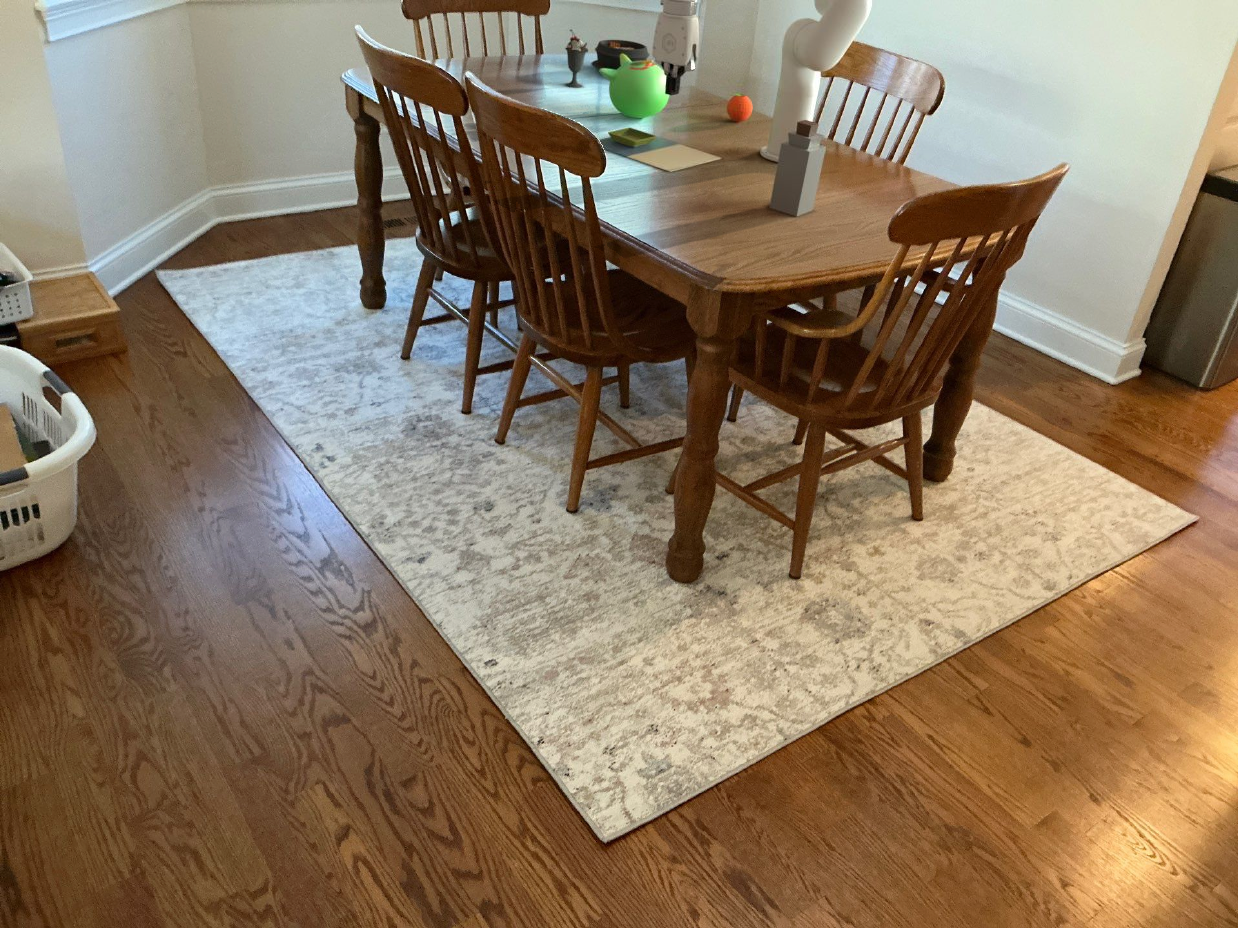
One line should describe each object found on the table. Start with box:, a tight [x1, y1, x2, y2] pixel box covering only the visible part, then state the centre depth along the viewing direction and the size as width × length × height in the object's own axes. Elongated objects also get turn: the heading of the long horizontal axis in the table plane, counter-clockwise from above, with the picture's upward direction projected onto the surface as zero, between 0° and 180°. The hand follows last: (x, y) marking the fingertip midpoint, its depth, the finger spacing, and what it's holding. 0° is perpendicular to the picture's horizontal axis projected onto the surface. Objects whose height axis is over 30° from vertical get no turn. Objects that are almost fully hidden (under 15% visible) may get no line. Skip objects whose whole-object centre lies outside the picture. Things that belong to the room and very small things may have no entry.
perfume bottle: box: [768, 120, 827, 217], centre depth 204 cm, size 7×7×18 cm
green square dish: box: [607, 127, 657, 147], centre depth 239 cm, size 9×9×2 cm
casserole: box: [590, 39, 650, 71], centre depth 304 cm, size 25×19×8 cm
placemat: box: [598, 136, 722, 173], centre depth 236 cm, size 26×20×1 cm
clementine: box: [724, 93, 753, 123], centre depth 267 cm, size 8×7×7 cm
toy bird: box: [598, 54, 670, 119], centre depth 259 cm, size 18×17×15 cm
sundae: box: [564, 29, 589, 89], centre depth 282 cm, size 7×7×15 cm
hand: (671, 94), depth 228 cm, fingers closed
